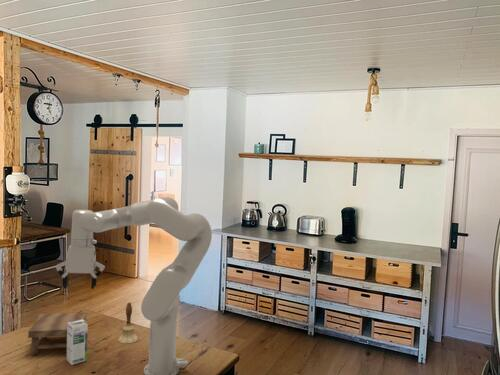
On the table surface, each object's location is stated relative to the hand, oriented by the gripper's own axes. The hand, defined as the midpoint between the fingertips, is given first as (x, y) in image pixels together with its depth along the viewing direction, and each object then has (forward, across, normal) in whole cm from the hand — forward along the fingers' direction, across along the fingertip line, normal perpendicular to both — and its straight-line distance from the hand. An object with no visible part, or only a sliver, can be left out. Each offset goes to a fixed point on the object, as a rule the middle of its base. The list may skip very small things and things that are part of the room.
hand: (79, 287), depth 149 cm
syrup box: (+28, 0, +1) cm, 28 cm away
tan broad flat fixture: (+28, +9, -12) cm, 32 cm away
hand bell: (+28, -18, -16) cm, 36 cm away
